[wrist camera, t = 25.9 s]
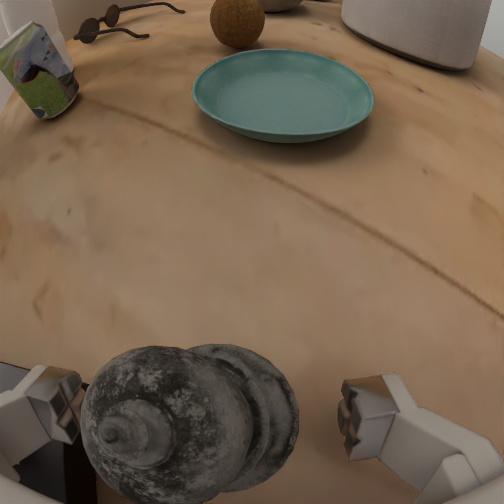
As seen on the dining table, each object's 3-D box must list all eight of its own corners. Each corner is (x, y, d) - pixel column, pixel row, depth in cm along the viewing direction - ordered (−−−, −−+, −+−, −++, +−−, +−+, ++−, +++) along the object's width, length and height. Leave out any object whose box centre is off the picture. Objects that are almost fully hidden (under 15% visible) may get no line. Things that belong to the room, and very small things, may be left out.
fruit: (226, 37, 33) (221, -15, 26) (271, 41, 32) (271, -14, 25) (204, 55, 30) (196, -4, 23) (254, 59, 29) (252, -5, 22)
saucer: (401, 130, 23) (410, 106, 20) (252, 194, 19) (251, 164, 17) (299, 59, 29) (300, 39, 27) (172, 96, 26) (167, 73, 23)
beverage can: (92, 95, 28) (60, 6, 17) (42, 136, 25) (-4, 46, 14) (68, 89, 29) (39, 13, 19) (24, 126, 27) (-16, 49, 16)
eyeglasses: (122, 20, 44) (117, 0, 40) (187, 11, 42) (184, -11, 38) (77, 51, 37) (69, 28, 33) (147, 39, 35) (140, 11, 31)
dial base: (-24, 482, 9) (-54, 482, 6) (-23, 356, 14) (-53, 342, 11) (102, 546, 9) (74, 563, 6) (97, 386, 14) (64, 377, 11)
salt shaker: (309, 385, 14) (451, 293, 3) (260, 491, 11) (252, 670, 1) (198, 339, 15) (73, 163, 4) (148, 439, 12) (-69, 445, 2)
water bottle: (35, 100, 30) (-19, -44, 8) (33, 86, 33) (-13, -38, 11) (78, 74, 32) (35, -73, 10) (71, 63, 34) (33, -64, 13)
